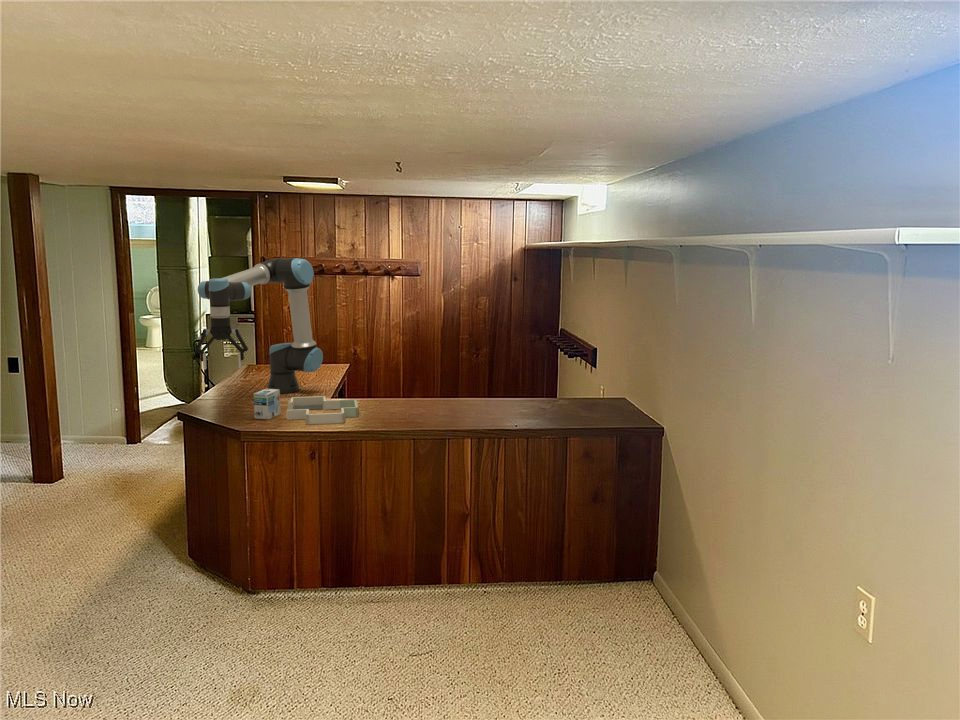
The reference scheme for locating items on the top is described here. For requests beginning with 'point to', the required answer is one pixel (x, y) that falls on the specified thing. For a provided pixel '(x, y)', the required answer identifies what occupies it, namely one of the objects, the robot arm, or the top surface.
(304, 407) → the mats
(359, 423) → the top surface
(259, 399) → the light bulb box
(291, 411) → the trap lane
